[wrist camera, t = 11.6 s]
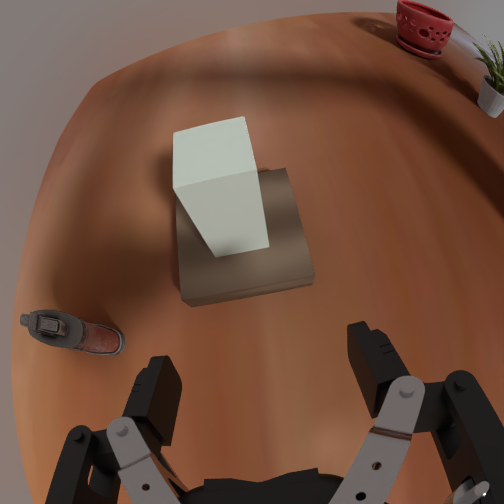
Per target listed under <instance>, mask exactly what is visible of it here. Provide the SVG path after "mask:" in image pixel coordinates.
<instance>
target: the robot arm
mask: <svg viewBox="0 0 504 504" xmlns="http://www.w3.org/2000/svg"><path fill="white" fill-rule="evenodd" d="M347 346H348V357H349V361H350V364H351V367H352V369H353V372H354V374H355V377H356V379H357V382H358V384H359V387H360V389H361V392H362V394H363V397H364V400H365V402H366V405H367V407H368V410H369V413H370V415H371V418H372V419H373V418H376V417H377V420H376V422H375V424H374V426H373V428H371V429H370V431H369V433H368V435H367V437H366V439H365V441H364V443H363V445H362V447H361V449H360V451H359V453H358V454H357V456H356V458H355V460H354V462H353V464H352V466H351V467H350V469H349V471H348V473H347V475H346V476H345V478H343V477H340V476H336V475H331V474H319V473H318V468H313V469H308V470H303V471H297V472H291V473H287V474H284V475H281V476H279V477H276V478H273V479H270V480H267V481H264V482H251V481H244V480H237V479H232V478H228V479H204V485H203V486H199V487H196V488H194V489H192V490H190V491H189V490H188V488H187V487H186V486H185V485H184V484H183V483H182V482H181V480H180V479H179V478H178V476H177V475H176V473H175V472H174V471H173V469H172V468H171V466H170V465H169V463H168V462H167V460H166V459H165V457H164V455H163V454H162V453H161V452H160V451H161V446H171V442H172V437H173V431H174V426H175V421H176V416H177V411H178V407H179V402H180V397H181V392H182V382H181V379H180V376H179V374H178V373H177V371H176V369H175V367H174V365H173V363H172V361H171V359H170V357H169V356H167V355H166V356H155V357H151V359H150V362H149V364H148V367H147V368H143V369H142V371H141V372H140V373H139V374H138V375H137V377H136V380H135V382H134V386H133V388H132V390H131V393H130V396H129V398H128V401H127V404H126V407H125V409H124V412H123V415H122V417H119V418H117V419H115V420H113V421H112V422H111V423H110V424H109V426H108V428H107V429H105V430H100V431H95V432H92V431H91V430H90V429H89V428H88V427H87V426H84V425H79V426H76V427H74V428H73V429H72V430H71V431H70V432H69V433H68V436H67V438H66V441H65V444H64V446H63V449H62V452H61V455H60V457H59V460H58V463H57V466H56V469H55V472H54V475H53V479H52V482H51V485H50V488H49V492H48V495H47V499H46V502H45V504H117V500H118V494H119V489H120V484H121V481H122V483H123V485H124V487H125V489H126V491H127V493H128V495H129V497H130V499H131V501H132V503H133V504H388V503H386V502H385V500H386V498H387V496H388V494H389V492H390V490H391V488H392V486H393V484H394V481H395V479H396V477H397V475H398V472H399V470H400V468H401V465H402V463H403V460H404V458H405V455H406V452H407V450H408V447H409V444H410V442H411V438H412V433H420V432H429V431H430V432H431V434H432V437H433V439H434V442H435V444H436V447H437V450H438V452H439V455H440V458H441V460H442V463H443V466H444V469H445V472H446V475H447V478H448V481H449V484H450V487H451V490H452V493H451V494H450V495H449V496H448V497H447V499H446V500H445V502H444V504H504V427H503V425H502V423H501V421H500V420H499V418H498V416H497V414H496V412H495V410H494V409H493V407H492V405H491V403H490V402H489V400H488V398H487V397H486V395H485V393H484V392H483V390H482V388H481V387H480V385H479V383H478V382H477V380H476V379H475V377H474V376H473V375H472V374H471V373H469V372H467V371H463V370H458V371H454V372H452V373H450V374H449V375H448V376H447V378H446V380H445V381H443V382H435V383H423V382H422V381H421V380H420V379H418V378H416V377H413V376H411V375H410V374H409V372H408V370H407V368H406V367H405V365H404V363H403V362H402V360H401V358H400V356H399V355H398V353H397V351H395V348H394V347H393V345H392V344H391V342H390V340H389V338H388V337H387V335H386V334H384V333H383V332H381V331H380V330H379V329H375V330H372V331H370V329H369V327H368V326H367V324H366V322H365V321H361V322H357V323H353V324H349V325H348V326H347ZM91 465H92V466H93V470H92V474H91V478H90V482H89V485H88V476H89V472H90V469H91Z"/></svg>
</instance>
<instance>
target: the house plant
mask: <svg viewBox="0 0 504 504" xmlns="http://www.w3.org/2000/svg"><path fill="white" fill-rule="evenodd" d="M484 36H485V35H484ZM485 37H486V36H485ZM486 38H487V37H486ZM489 41H490V40H489ZM490 43H491V44H492V46H493V47H494V49H495V51H496V54H497V57H498V61H499V64H498V63H497V60H496V56H495V55H494V54H495V53H493V51H492V53H493V55H494V57H495V61H496V62H494V63H495V64H496V66H497V69H496V67H495V65H494V63H493V61H492V60H491V59H490V58H489V56H488V55H487V54H486V53H485V52H484V51H483V50H482V49H481V48H480V47H479V46H477V45H476V44H475V43H473V44H474V45H475V46H476V47H477V48H478V49H479V51H480V52H481V55H482V56H483V58H484V59H482V58H478V57H476V58H474V59H477V60H480V61H482V62H484V63H485V64H486V65H487V67H488V69H490V68H491V69H490V70H489V72H490V71H491V72H490V75H491V73H492V74H493V75H491V77H490V76H487V75H484V76H483V80H482V85H481V89H480V93H479V97H478V101H477V103H478V105H479V107H480V108H481V109H482V110H483V111H484V112H485V113H486V114H488V115H489V116H491V117H494V118H496V117H497V116H498V115H499V114H500V113H501V112H502V111H503V109H504V51H503V49H502V47H501V45H500V43H499V45H500V47H501V51H502V58H503V67H502V61H501V59H500V58H499V55H498V52H497V50H496V48H495V46H494V45H493V43H492V42H491V41H490ZM491 50H492V49H491ZM477 51H478V50H477ZM479 51H478V52H479ZM486 61H487V62H488V63H487V62H486ZM493 77H494V78H493Z"/></svg>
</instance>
